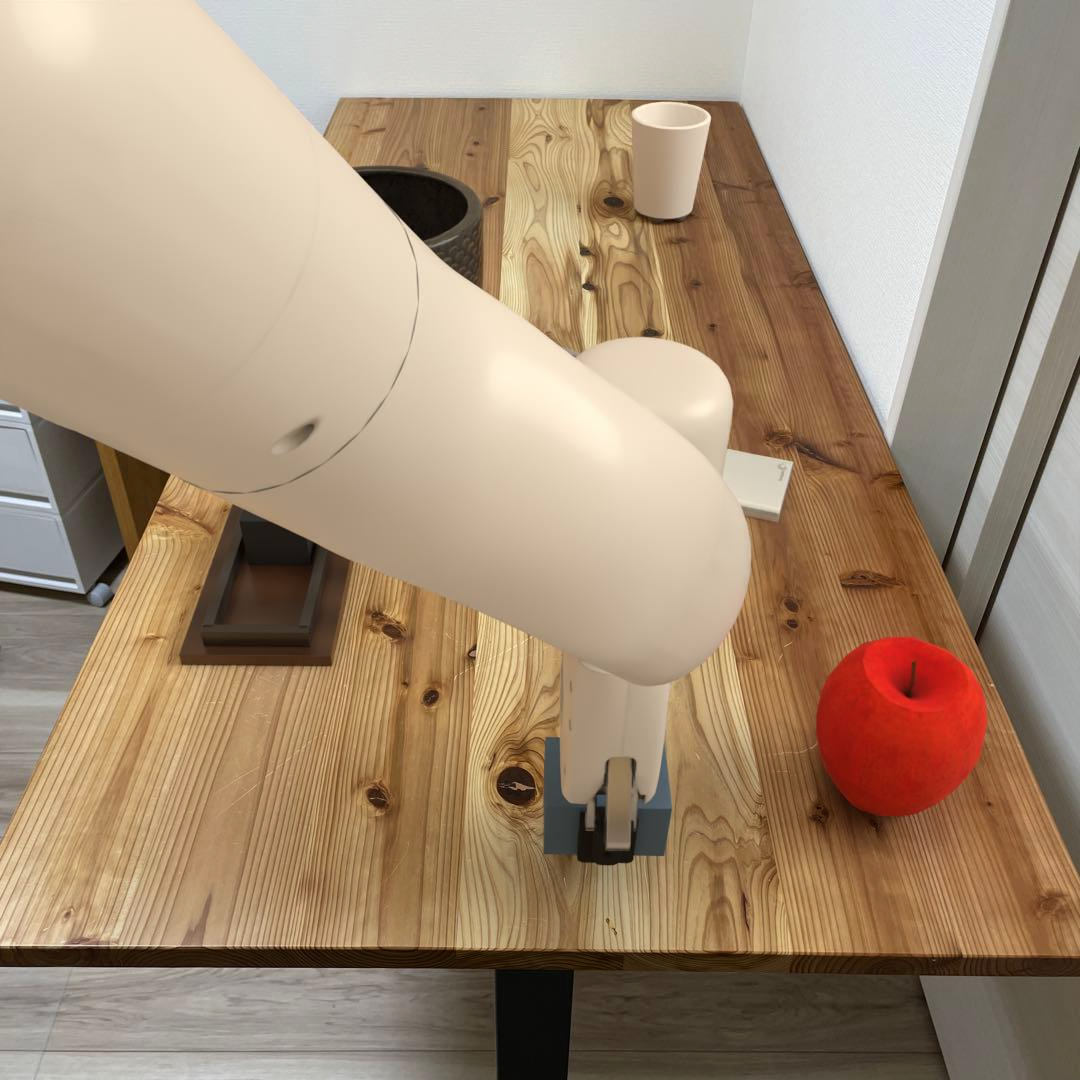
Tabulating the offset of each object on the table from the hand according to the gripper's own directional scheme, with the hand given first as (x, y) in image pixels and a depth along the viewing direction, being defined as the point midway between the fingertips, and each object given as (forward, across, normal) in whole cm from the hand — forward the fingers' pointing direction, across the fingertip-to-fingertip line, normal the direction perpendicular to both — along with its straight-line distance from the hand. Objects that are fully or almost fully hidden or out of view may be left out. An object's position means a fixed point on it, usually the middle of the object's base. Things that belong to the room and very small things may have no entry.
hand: (602, 815), depth 63 cm
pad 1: (+3, -29, -24) cm, 38 cm away
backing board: (+4, -25, -24) cm, 35 cm away
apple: (+4, -5, +18) cm, 20 cm away
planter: (+4, -53, -19) cm, 57 cm away
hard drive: (+4, -39, +12) cm, 41 cm away
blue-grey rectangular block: (0, 0, 0) cm, 0 cm away
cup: (+3, -97, +12) cm, 98 cm away
